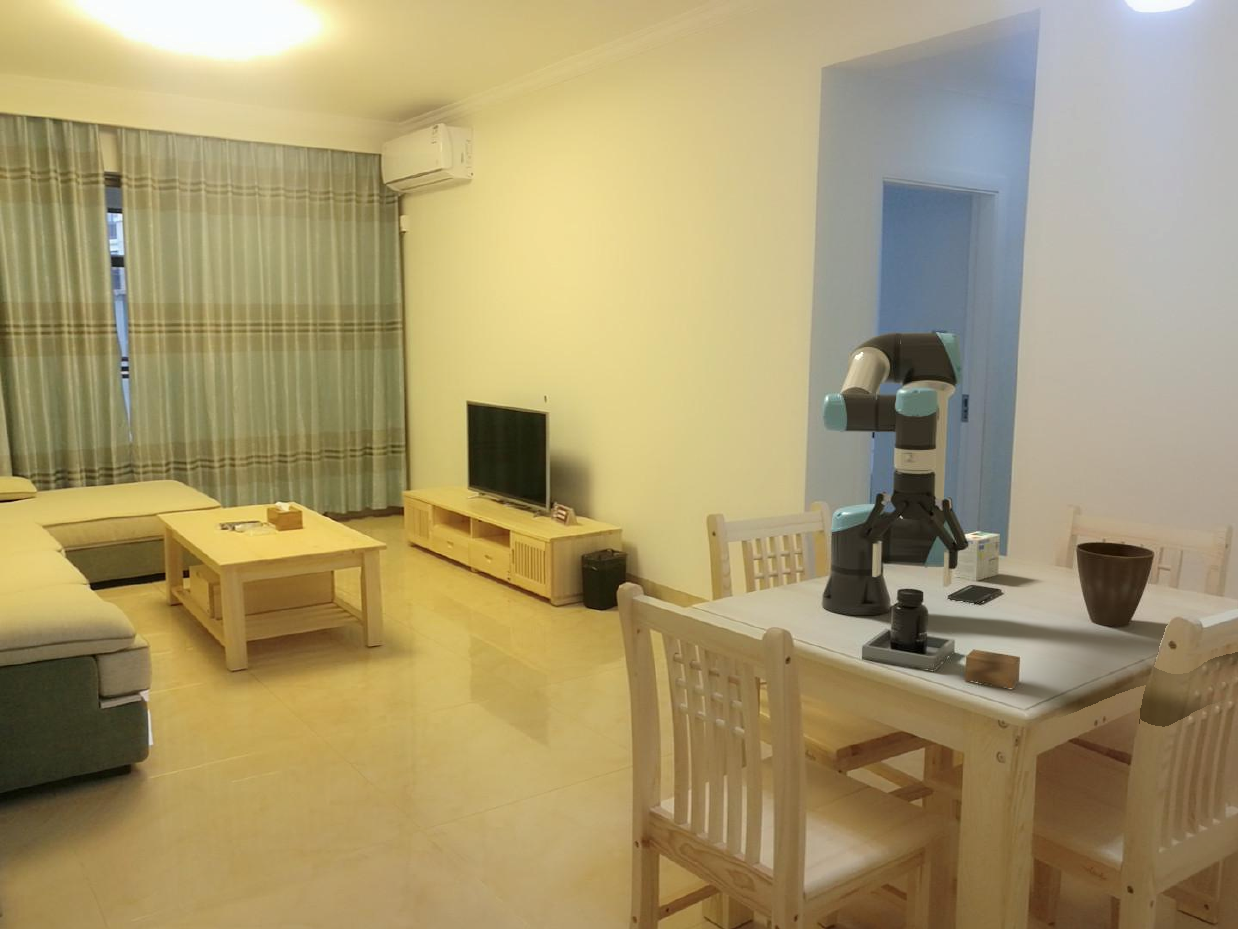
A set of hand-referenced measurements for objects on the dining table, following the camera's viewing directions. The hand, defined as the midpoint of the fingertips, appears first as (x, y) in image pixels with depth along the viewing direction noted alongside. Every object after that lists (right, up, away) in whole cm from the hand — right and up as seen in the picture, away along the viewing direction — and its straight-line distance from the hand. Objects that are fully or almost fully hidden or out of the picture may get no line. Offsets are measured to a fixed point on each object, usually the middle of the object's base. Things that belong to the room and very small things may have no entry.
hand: (911, 580), depth 189 cm
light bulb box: (+36, -7, +66) cm, 75 cm away
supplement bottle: (0, -14, +1) cm, 14 cm away
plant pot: (+50, -12, +23) cm, 56 cm away
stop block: (+10, -16, -13) cm, 24 cm away
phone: (+29, -10, +46) cm, 55 cm away
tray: (0, -15, +1) cm, 15 cm away
